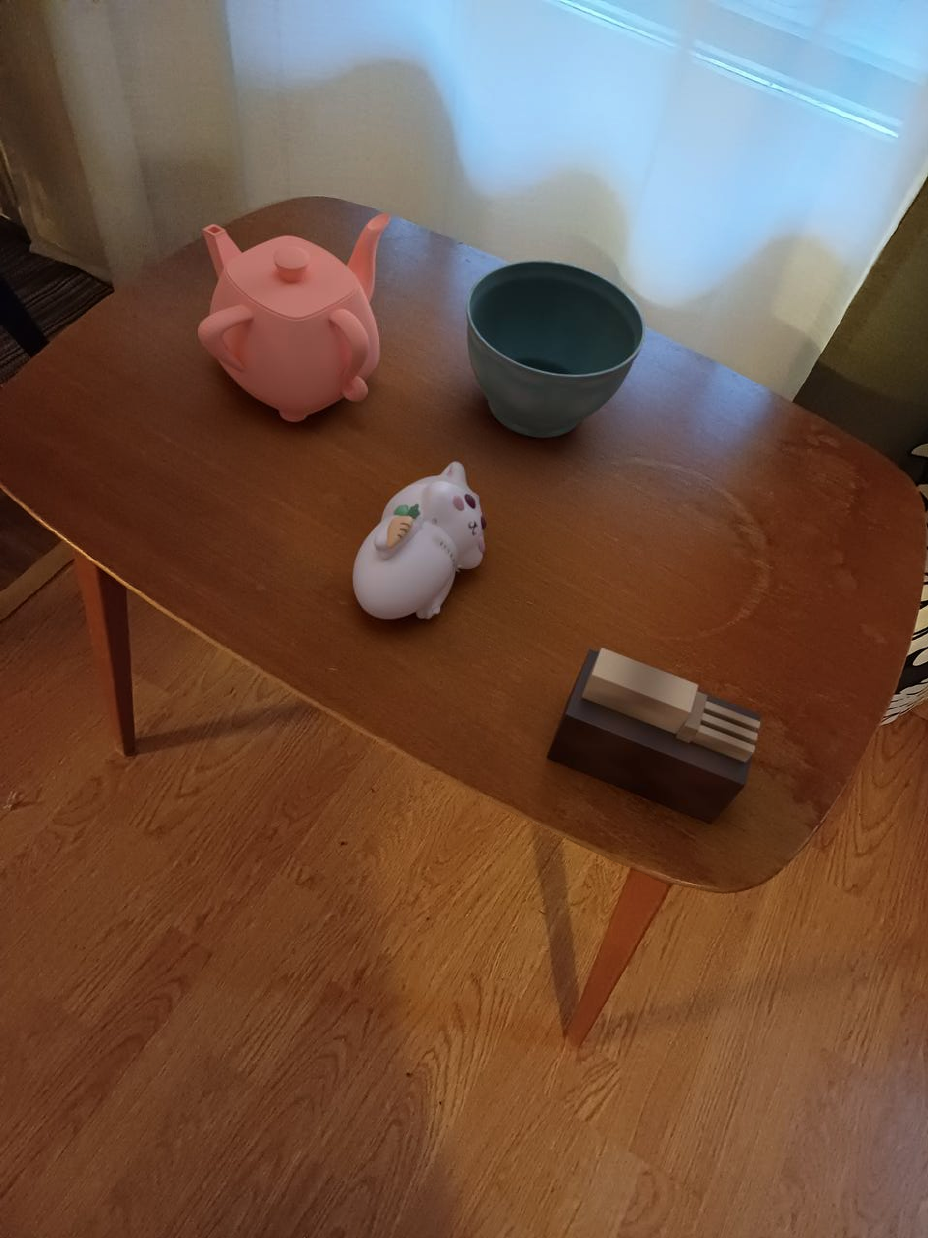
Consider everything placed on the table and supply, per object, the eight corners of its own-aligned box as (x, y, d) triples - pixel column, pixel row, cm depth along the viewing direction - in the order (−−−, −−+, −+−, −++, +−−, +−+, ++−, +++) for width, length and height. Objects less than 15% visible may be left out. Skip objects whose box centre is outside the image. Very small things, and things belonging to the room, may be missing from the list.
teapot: (214, 319, 93) (199, 193, 82) (383, 323, 96) (390, 202, 84) (207, 435, 84) (189, 311, 73) (393, 436, 87) (403, 318, 76)
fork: (580, 701, 65) (590, 677, 62) (592, 667, 66) (602, 643, 64) (744, 765, 63) (762, 744, 61) (753, 730, 65) (770, 708, 62)
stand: (727, 757, 72) (761, 714, 66) (711, 824, 68) (745, 785, 62) (569, 694, 73) (589, 647, 67) (546, 757, 70) (565, 713, 64)
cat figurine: (377, 572, 66) (479, 433, 72) (302, 560, 71) (404, 430, 77) (433, 655, 72) (523, 520, 79) (361, 639, 77) (451, 512, 84)
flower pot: (478, 333, 96) (493, 240, 87) (628, 376, 95) (659, 286, 86) (433, 436, 87) (444, 344, 78) (598, 485, 86) (628, 397, 77)
